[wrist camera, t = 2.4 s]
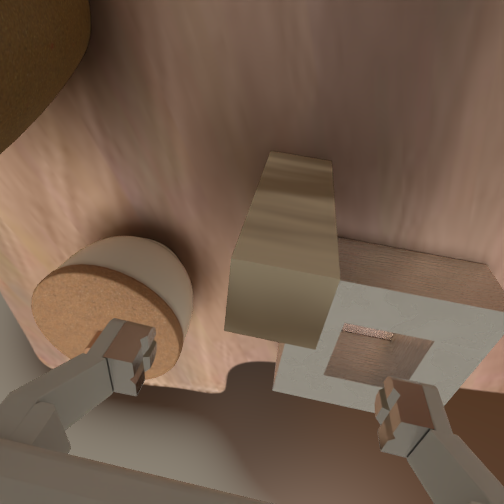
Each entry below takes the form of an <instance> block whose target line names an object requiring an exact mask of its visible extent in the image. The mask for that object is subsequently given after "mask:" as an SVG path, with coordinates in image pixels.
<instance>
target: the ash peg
mask: <svg viewBox="0 0 504 504" xmlns="http://www.w3.org/2000/svg"><path fill="white" fill-rule="evenodd" d="M339 282H340V267H339V254H338V240H337V226H336V212H335V199H334V185H333V171H332V161H329V160H323V159H317V158H311V157H305V156H299V155H293V154H287V153H282V152H276V151H270V154H269V156H268V159H267V162H266V165H265V167H264V170H263V173H262V176H261V178H260V181H259V184H258V186H257V189H256V192H255V195H254V197H253V200H252V203H251V205H250V208H249V211H248V214H247V216H246V219H245V222H244V225H243V227H242V230H241V233H240V235H239V238H238V241H237V244H236V246H235V249H234V252H233V255H232V257H231V265H230V275H229V286H228V296H227V306H226V317H225V327H224V331H228V332H232V333H237V334H242V335H247V336H252V337H256V338H261V339H266V340H271V341H276V342H280V343H285V344H290V345H295V346H299V347H304V348H309V349H314V350H316V347H317V344H318V341H319V338H320V335H321V333H322V330H323V327H324V324H325V321H326V318H327V316H328V313H329V310H330V307H331V304H332V302H333V299H334V296H335V293H336V290H337V287H338V285H339Z"/></svg>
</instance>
